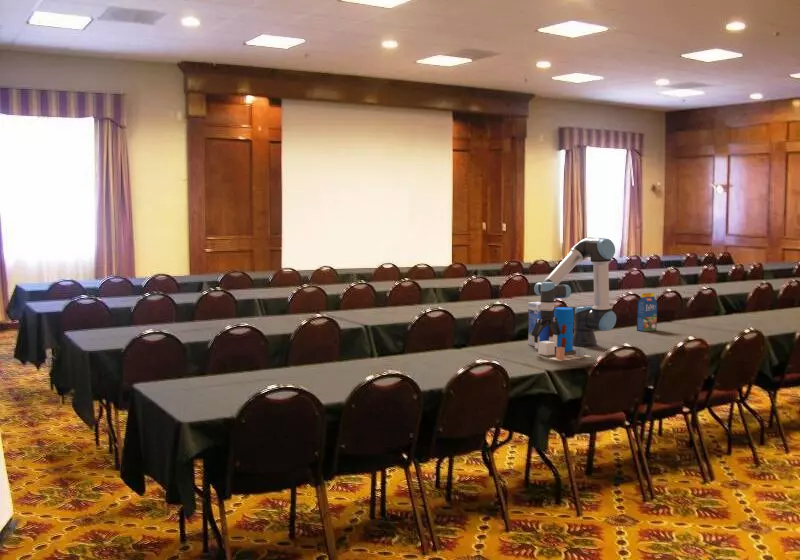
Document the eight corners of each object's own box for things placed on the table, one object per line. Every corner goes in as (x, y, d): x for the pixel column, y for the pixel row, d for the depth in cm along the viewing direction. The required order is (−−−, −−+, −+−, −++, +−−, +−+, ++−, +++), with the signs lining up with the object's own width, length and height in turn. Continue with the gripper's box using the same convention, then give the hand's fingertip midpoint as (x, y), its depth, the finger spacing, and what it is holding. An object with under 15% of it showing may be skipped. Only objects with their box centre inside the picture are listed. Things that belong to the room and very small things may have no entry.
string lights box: (549, 347, 507) (550, 304, 505) (538, 348, 505) (538, 304, 502) (538, 343, 520) (538, 301, 517) (527, 344, 517) (527, 301, 515)
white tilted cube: (546, 354, 485) (546, 340, 484) (554, 355, 480) (554, 342, 479) (538, 355, 482) (538, 341, 481) (546, 357, 476) (546, 343, 476)
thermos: (572, 353, 487) (573, 309, 485) (553, 352, 489) (554, 309, 487) (572, 350, 498) (573, 307, 495) (554, 349, 500) (554, 306, 497)
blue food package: (636, 330, 570) (637, 293, 567) (649, 329, 576) (650, 292, 573) (643, 331, 564) (644, 294, 562) (656, 330, 570) (657, 292, 568)
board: (579, 355, 481) (579, 353, 481) (591, 357, 474) (591, 356, 474) (548, 360, 468) (548, 358, 468) (560, 362, 461) (560, 360, 460)
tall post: (560, 357, 470) (560, 346, 469) (564, 358, 467) (564, 347, 466) (556, 358, 468) (556, 347, 467) (560, 359, 465) (560, 348, 465)
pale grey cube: (579, 355, 477) (580, 348, 476) (584, 356, 474) (584, 349, 474) (575, 355, 475) (575, 348, 474) (580, 356, 472) (580, 349, 472)
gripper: (558, 307, 488) (557, 344, 490) (525, 310, 474) (524, 348, 476) (568, 309, 482) (566, 346, 484) (535, 311, 468) (534, 350, 470)
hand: (546, 347), depth 480 cm, fingers open, 13 cm apart
